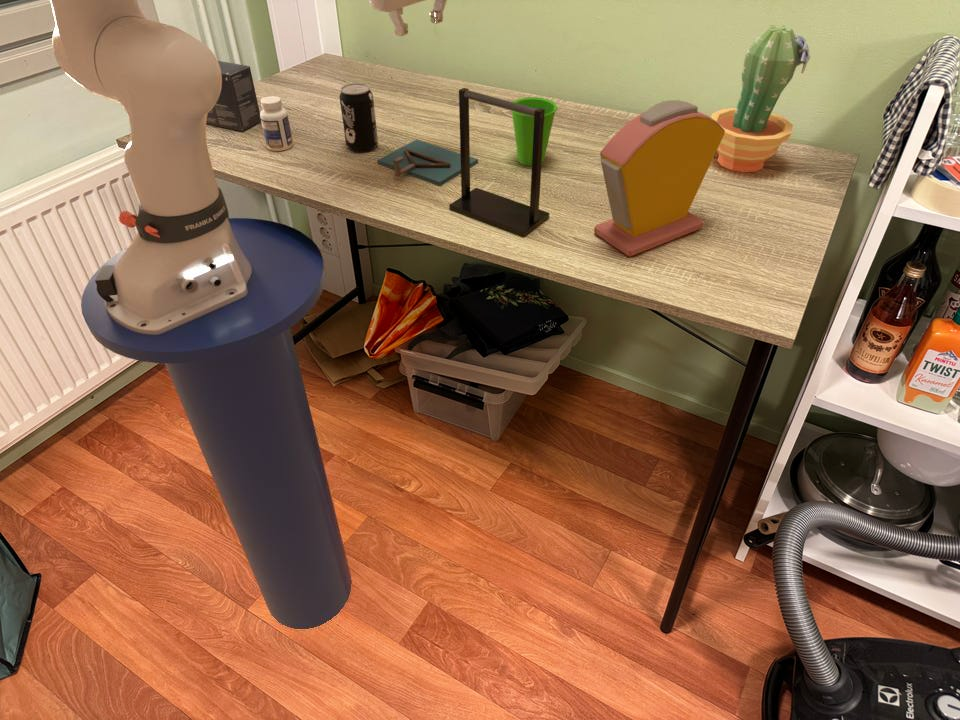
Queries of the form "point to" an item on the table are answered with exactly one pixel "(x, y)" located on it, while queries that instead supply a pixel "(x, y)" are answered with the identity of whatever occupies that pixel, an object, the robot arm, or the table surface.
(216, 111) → the small box
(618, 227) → the yellow fan-shaped flat fixture
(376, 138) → the beverage can
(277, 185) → the table surface
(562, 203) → the table surface
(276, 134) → the pill bottle
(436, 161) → the hanger
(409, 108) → the table surface
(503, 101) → the rack
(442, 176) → the mat
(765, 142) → the potted cactus
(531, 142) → the cup
